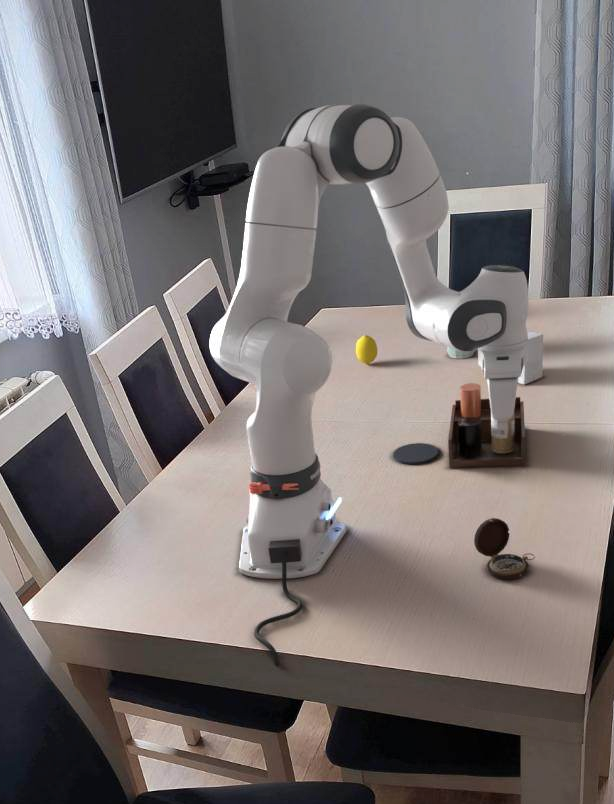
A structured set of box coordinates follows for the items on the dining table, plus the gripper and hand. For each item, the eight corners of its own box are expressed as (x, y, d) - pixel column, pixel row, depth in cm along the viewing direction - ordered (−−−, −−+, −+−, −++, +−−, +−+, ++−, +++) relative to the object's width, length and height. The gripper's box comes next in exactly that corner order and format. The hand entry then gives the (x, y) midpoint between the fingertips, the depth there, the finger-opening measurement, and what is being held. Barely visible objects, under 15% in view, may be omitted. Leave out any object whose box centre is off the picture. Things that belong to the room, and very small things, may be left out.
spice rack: (525, 465, 165) (525, 431, 162) (449, 468, 169) (448, 435, 166) (523, 428, 180) (523, 396, 176) (453, 431, 184) (452, 400, 180)
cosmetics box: (543, 376, 202) (544, 332, 197) (524, 385, 199) (524, 340, 194) (508, 368, 210) (508, 325, 205) (489, 376, 207) (489, 333, 202)
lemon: (382, 361, 228) (379, 331, 224) (372, 369, 224) (370, 338, 220) (363, 360, 231) (360, 331, 227) (353, 367, 227) (350, 338, 223)
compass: (504, 585, 132) (503, 544, 129) (473, 563, 139) (471, 523, 135) (547, 568, 135) (548, 527, 131) (514, 547, 141) (514, 507, 138)
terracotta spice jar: (481, 418, 175) (480, 390, 172) (460, 419, 176) (459, 391, 173) (481, 410, 178) (480, 382, 175) (461, 411, 179) (460, 383, 177)
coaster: (437, 463, 172) (436, 461, 171) (391, 465, 174) (390, 462, 174) (439, 444, 179) (439, 442, 179) (395, 446, 182) (395, 444, 181)
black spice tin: (481, 458, 171) (481, 425, 167) (458, 459, 172) (457, 426, 168) (482, 448, 174) (481, 416, 171) (459, 449, 175) (458, 417, 172)
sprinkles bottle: (519, 449, 170) (520, 383, 163) (503, 456, 168) (503, 390, 161) (501, 442, 173) (502, 378, 167) (485, 450, 171) (485, 385, 165)
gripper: (486, 337, 171) (486, 403, 177) (483, 373, 154) (484, 445, 160) (519, 335, 169) (519, 402, 176) (521, 371, 152) (520, 444, 159)
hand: (502, 423), depth 168 cm, fingers closed on sprinkles bottle, 4 cm apart
